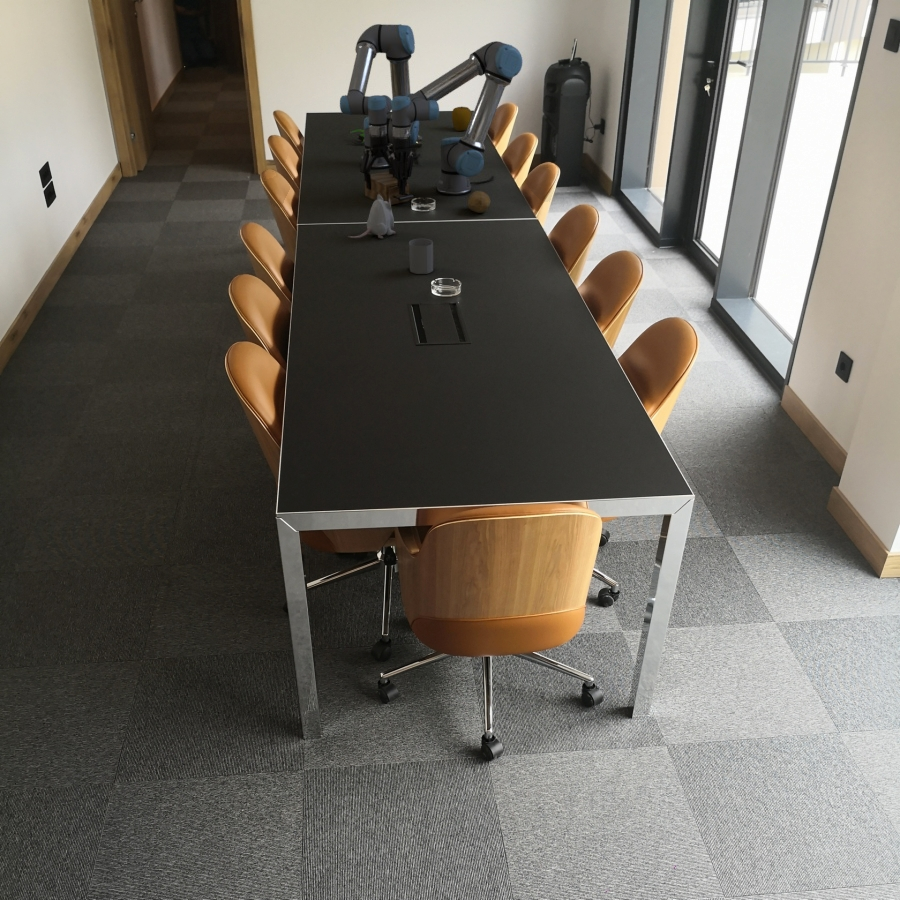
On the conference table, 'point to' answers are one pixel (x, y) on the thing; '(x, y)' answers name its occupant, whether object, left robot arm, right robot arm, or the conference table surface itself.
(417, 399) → the conference table surface
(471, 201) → the potato
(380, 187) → the cabinet
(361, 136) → the green leafy plant
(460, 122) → the apple
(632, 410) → the conference table surface
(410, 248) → the cup
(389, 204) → the toy
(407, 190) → the drawer
